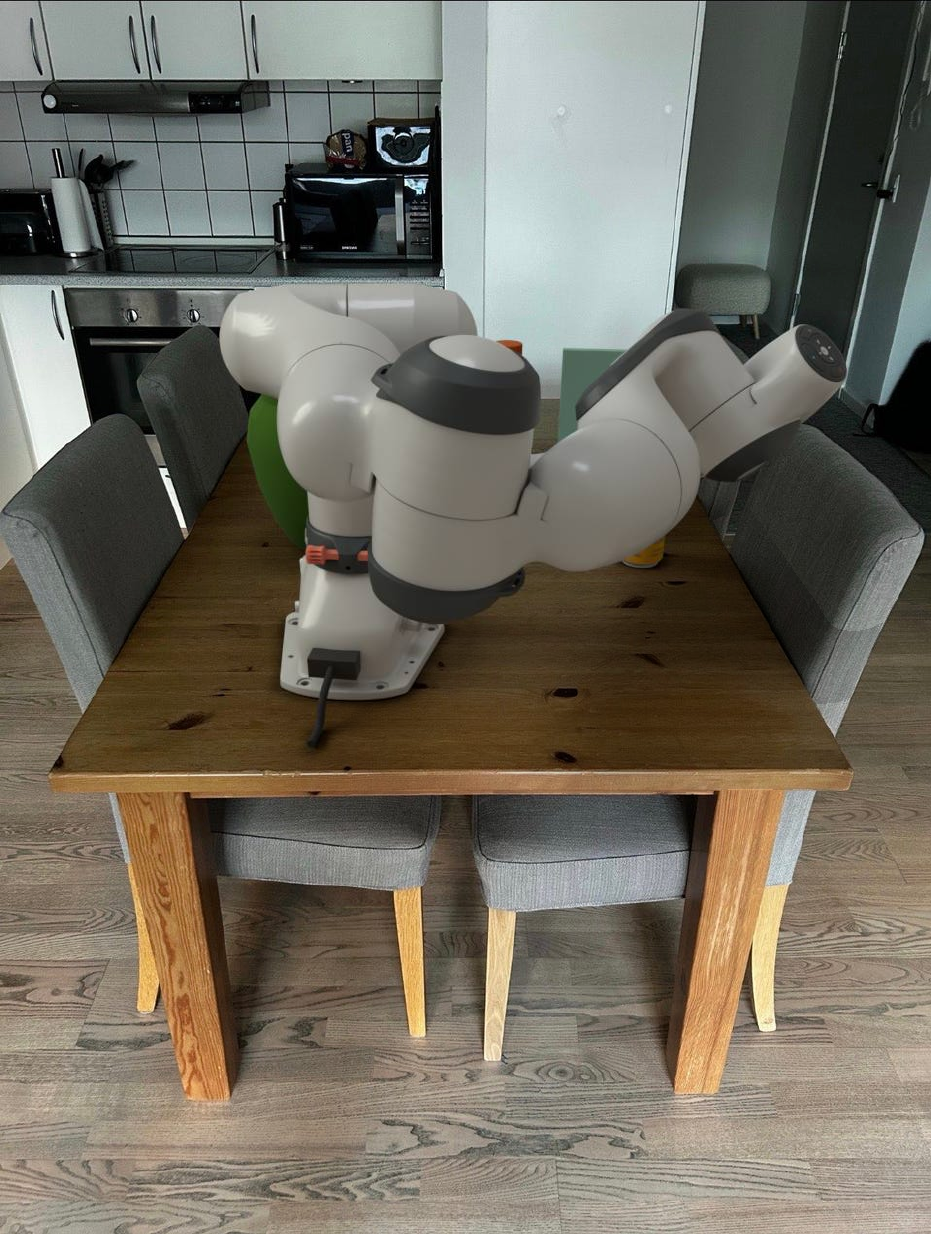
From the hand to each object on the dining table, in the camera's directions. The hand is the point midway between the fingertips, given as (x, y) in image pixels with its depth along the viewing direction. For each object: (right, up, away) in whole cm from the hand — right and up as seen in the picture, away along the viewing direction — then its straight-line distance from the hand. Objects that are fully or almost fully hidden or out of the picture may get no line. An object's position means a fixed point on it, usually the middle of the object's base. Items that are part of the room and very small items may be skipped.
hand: (666, 482), depth 121 cm
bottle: (-19, +10, +43) cm, 48 cm away
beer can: (-2, -10, +9) cm, 13 cm away
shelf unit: (-5, -3, +20) cm, 21 cm away
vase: (-45, -7, +13) cm, 47 cm away
